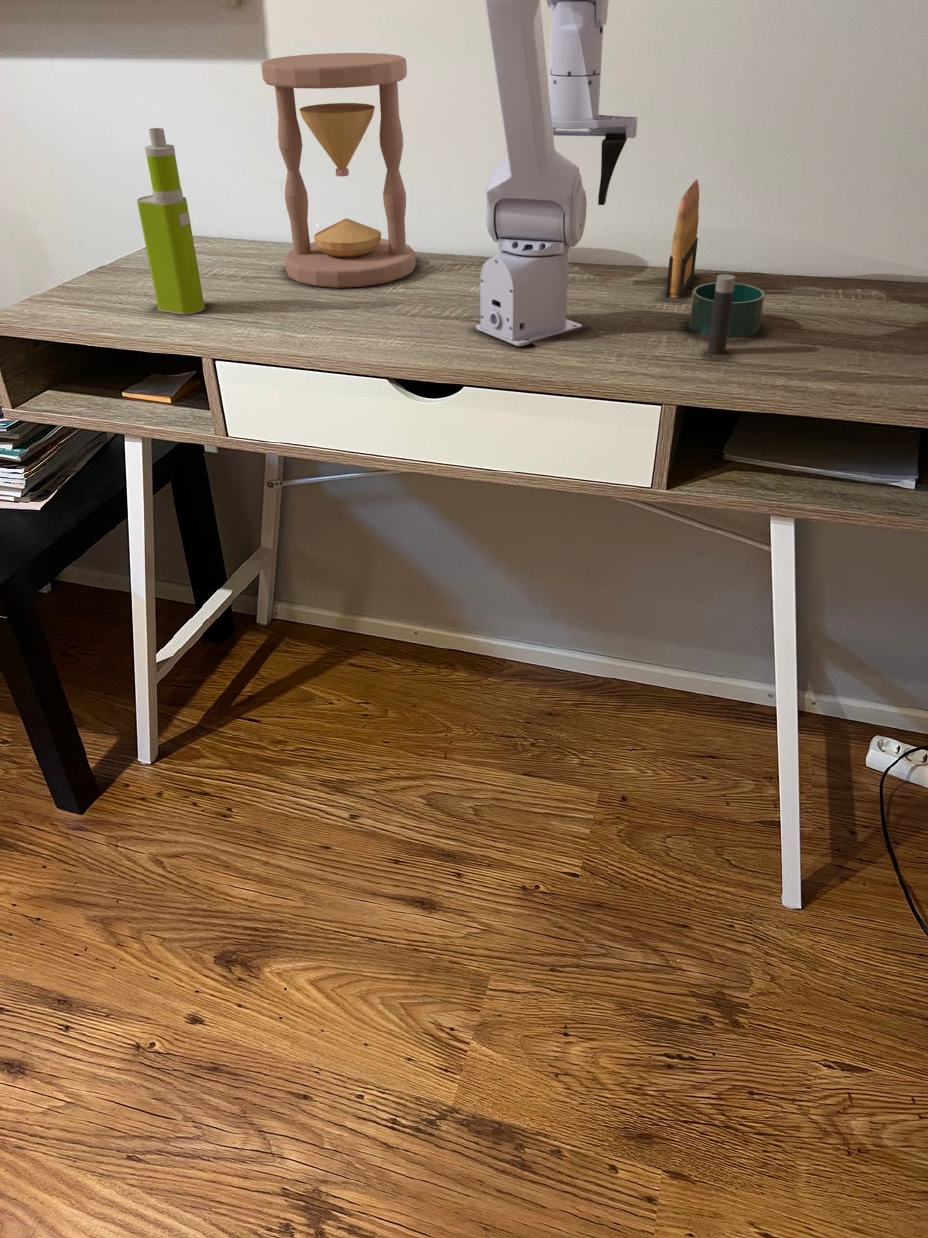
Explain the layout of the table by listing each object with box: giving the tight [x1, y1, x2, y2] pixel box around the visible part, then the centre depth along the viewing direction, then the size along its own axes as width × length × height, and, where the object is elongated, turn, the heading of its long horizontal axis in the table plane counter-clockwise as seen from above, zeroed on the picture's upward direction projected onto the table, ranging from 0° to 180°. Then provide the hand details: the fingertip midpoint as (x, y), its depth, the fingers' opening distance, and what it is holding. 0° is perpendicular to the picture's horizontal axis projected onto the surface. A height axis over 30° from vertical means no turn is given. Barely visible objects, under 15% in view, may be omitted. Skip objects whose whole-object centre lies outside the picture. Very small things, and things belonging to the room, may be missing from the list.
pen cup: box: [688, 282, 766, 339], centre depth 108 cm, size 8×8×4 cm
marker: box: [707, 273, 736, 356], centre depth 100 cm, size 2×2×8 cm
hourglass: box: [260, 52, 417, 289], centre depth 126 cm, size 18×18×25 cm
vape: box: [136, 127, 206, 315], centre depth 114 cm, size 4×6×20 cm, turn 64°
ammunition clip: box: [665, 179, 700, 299], centre depth 119 cm, size 11×2×12 cm, turn 160°
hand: (570, 202), depth 117 cm, fingers open, 7 cm apart
